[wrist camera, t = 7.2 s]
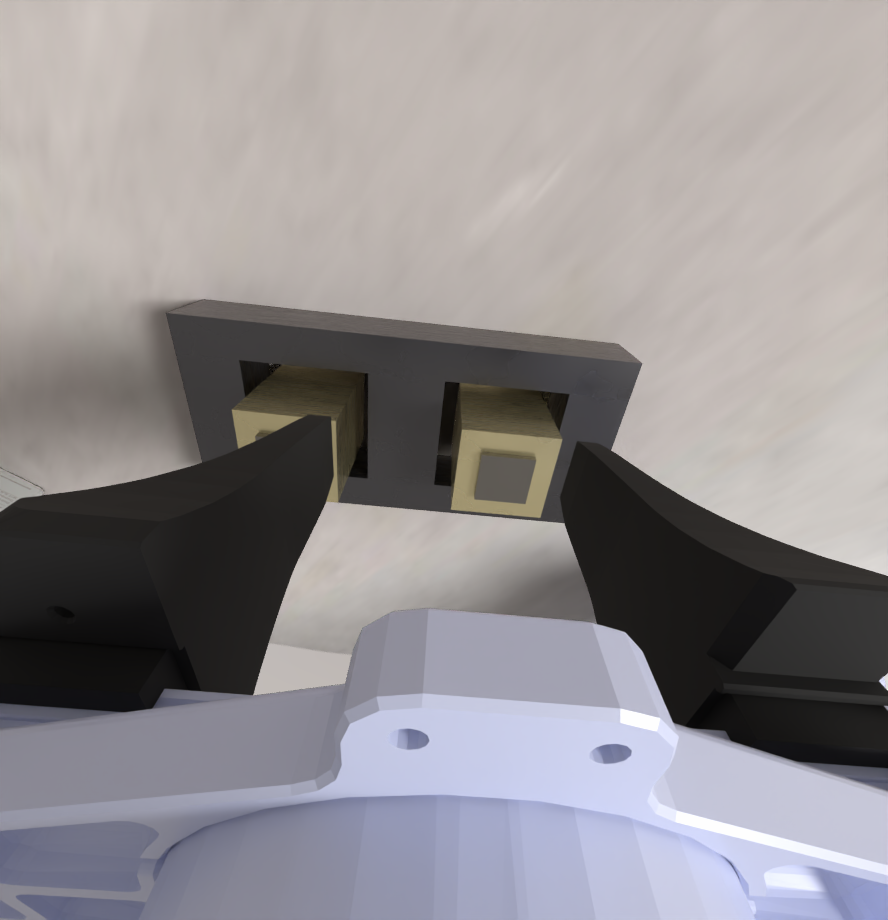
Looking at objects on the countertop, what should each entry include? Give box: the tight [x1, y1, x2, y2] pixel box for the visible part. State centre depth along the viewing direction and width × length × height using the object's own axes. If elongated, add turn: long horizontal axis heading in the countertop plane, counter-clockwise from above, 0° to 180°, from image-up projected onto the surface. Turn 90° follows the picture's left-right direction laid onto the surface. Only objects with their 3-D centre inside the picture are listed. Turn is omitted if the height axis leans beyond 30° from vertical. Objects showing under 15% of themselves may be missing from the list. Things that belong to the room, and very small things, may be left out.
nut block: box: [232, 365, 364, 502], centre depth 19 cm, size 4×4×6 cm
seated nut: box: [451, 383, 563, 518], centre depth 20 cm, size 4×4×6 cm
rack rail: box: [166, 299, 642, 523], centre depth 21 cm, size 20×9×3 cm, turn 84°
